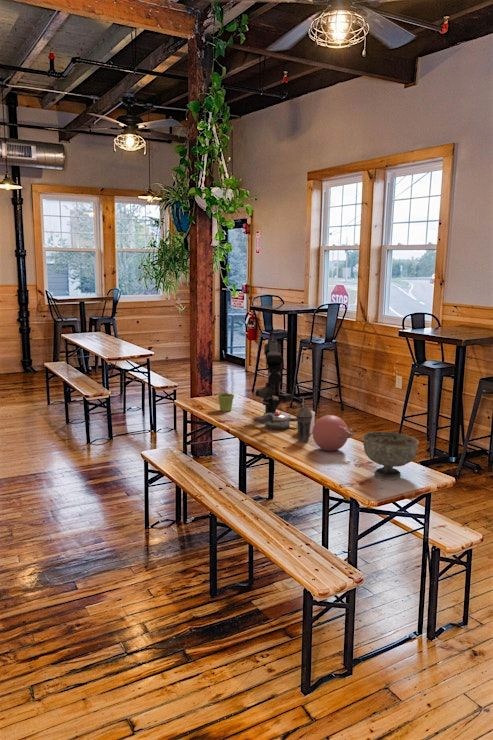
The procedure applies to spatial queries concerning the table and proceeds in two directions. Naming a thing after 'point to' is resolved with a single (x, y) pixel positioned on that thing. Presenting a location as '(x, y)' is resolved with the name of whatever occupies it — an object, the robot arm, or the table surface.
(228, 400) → the plant pot
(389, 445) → the bowl
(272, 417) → the lid
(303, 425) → the beverage cup
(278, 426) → the pot
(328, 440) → the balloon
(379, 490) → the table surface
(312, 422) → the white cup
